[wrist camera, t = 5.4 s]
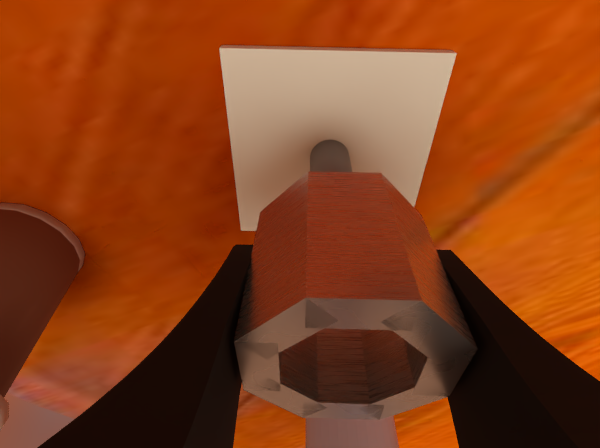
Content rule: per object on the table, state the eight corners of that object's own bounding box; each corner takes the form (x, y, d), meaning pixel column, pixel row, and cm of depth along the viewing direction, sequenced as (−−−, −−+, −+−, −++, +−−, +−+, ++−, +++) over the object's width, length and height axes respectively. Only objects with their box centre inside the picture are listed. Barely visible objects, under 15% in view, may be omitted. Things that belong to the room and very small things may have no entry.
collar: (399, 290, 14) (434, 421, 10) (266, 287, 14) (248, 415, 10) (433, 173, 11) (505, 302, 7) (256, 170, 11) (224, 295, 7)
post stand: (404, 228, 21) (429, 301, 17) (242, 224, 21) (225, 295, 17) (451, 50, 15) (512, 90, 10) (222, 45, 15) (185, 82, 10)
